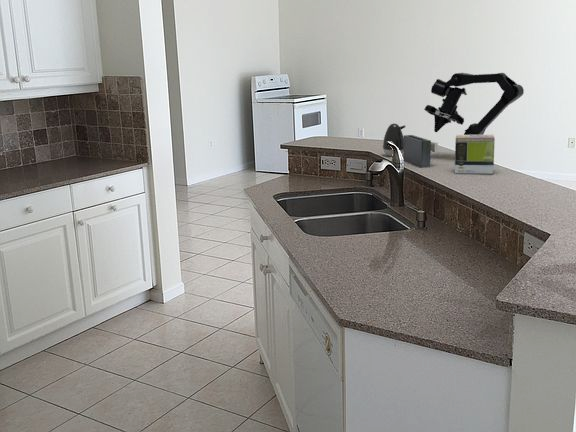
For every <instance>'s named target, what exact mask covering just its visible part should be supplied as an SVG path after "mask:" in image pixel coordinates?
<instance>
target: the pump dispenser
mask: <svg viewBox="0 0 576 432" xmlns="http://www.w3.org/2000/svg"><path fill="white" fill-rule="evenodd" d="M405 128H406V125H400V126H399V124H398V123H391V124H389V125H388V127H387V129H386V131H385V135H384V137H383V142H382V150H383V152H384V154H385V155H386V156H387V157H391V158H393V157H392V154H393V150H392V148H391V147H390V146H388V145H386V141H392V142H393V143H394V144H395V145H396V146H397V147H398V148H399V150H400V151H401V153H402V154H403V144H404V133H403V131H402V130H403V129H405Z"/></svg>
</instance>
